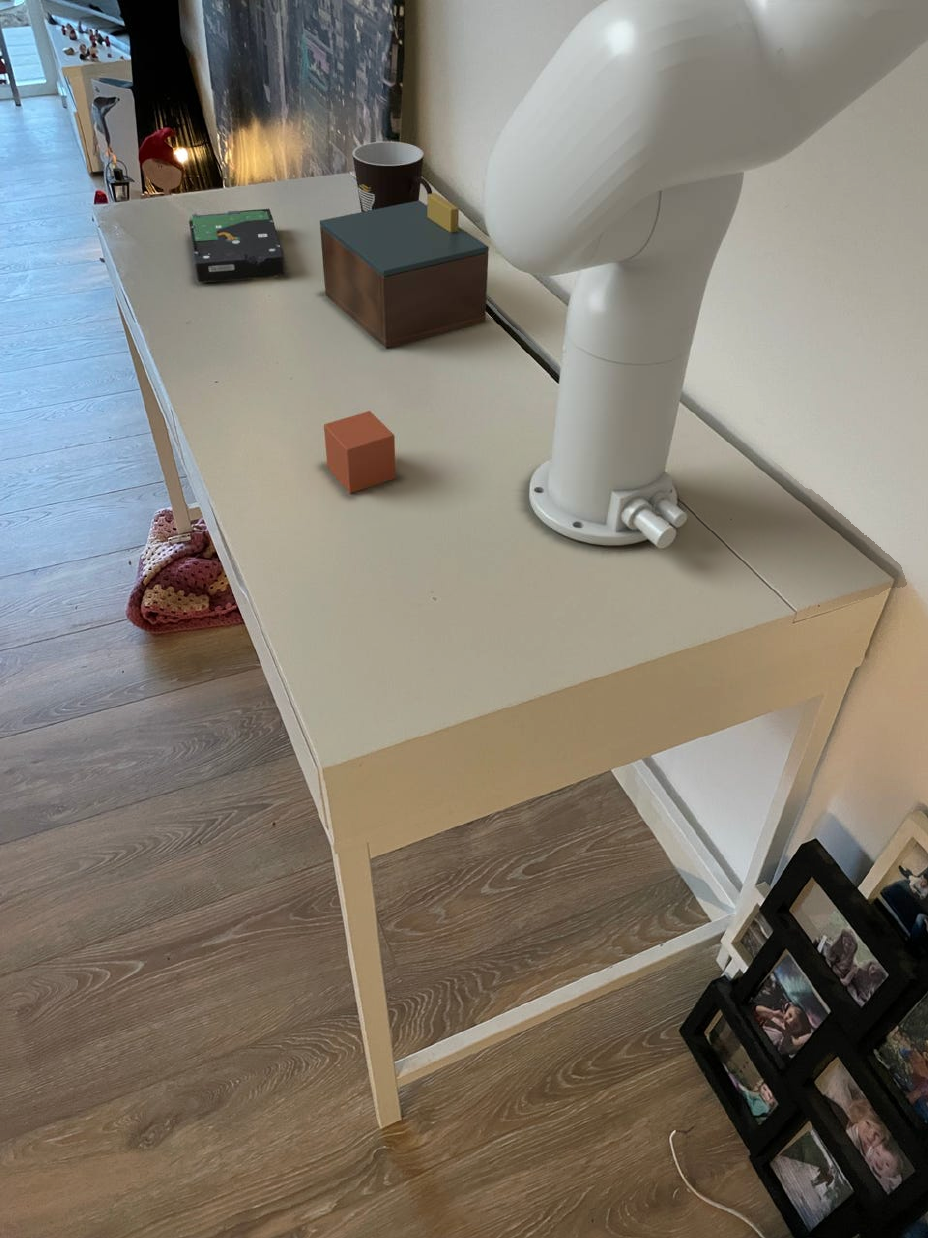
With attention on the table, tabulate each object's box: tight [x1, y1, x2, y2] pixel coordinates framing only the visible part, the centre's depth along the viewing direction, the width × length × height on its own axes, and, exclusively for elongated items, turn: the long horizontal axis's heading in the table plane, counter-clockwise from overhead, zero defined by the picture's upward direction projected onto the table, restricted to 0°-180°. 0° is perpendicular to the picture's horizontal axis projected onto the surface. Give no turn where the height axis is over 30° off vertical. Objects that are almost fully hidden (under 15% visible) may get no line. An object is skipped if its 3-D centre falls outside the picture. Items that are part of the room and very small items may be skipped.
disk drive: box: [188, 208, 287, 283], centre depth 114 cm, size 10×3×15 cm
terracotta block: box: [323, 410, 397, 494], centre depth 82 cm, size 4×4×4 cm
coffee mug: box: [351, 141, 433, 212], centre depth 116 cm, size 12×9×10 cm
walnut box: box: [319, 226, 489, 349], centre depth 104 cm, size 15×13×8 cm
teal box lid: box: [319, 192, 490, 276], centre depth 100 cm, size 15×13×3 cm
